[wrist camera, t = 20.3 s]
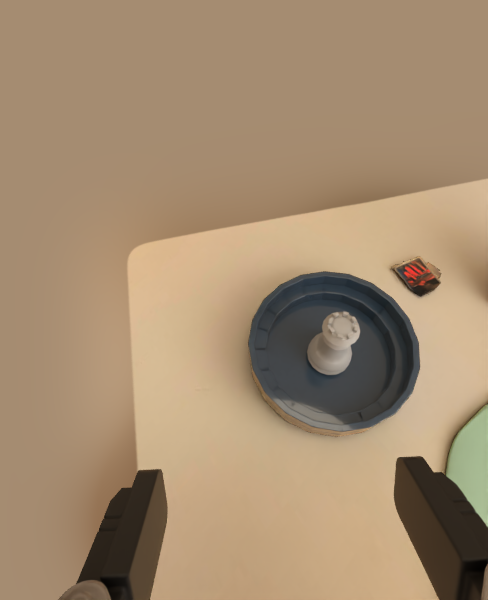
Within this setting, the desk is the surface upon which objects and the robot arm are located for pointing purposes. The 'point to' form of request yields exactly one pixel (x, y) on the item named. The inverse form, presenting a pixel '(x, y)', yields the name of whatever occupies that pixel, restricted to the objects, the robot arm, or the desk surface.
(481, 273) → the desk surface
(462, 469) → the green blossom tree diorama
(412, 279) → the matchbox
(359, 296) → the dish
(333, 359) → the rook chess piece
